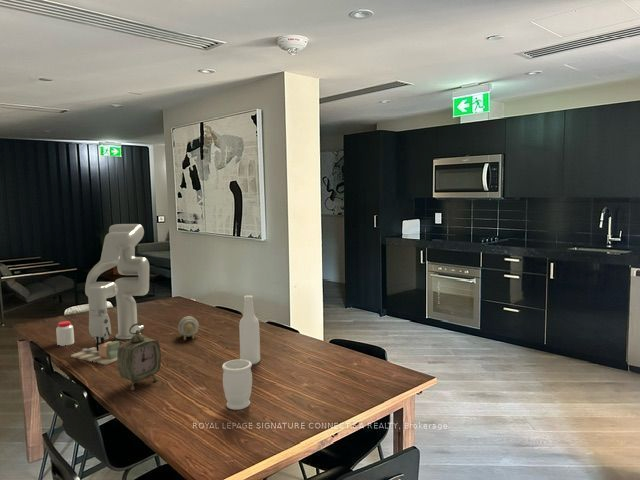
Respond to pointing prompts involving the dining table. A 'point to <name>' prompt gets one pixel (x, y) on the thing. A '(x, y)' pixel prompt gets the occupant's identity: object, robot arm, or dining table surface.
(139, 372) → the tabletop clock
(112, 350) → the rail board
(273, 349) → the dining table surface
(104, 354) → the block
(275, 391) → the dining table surface
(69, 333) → the pill bottle
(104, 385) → the dining table surface
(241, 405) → the jar
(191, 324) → the toy sheep
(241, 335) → the alcohol
